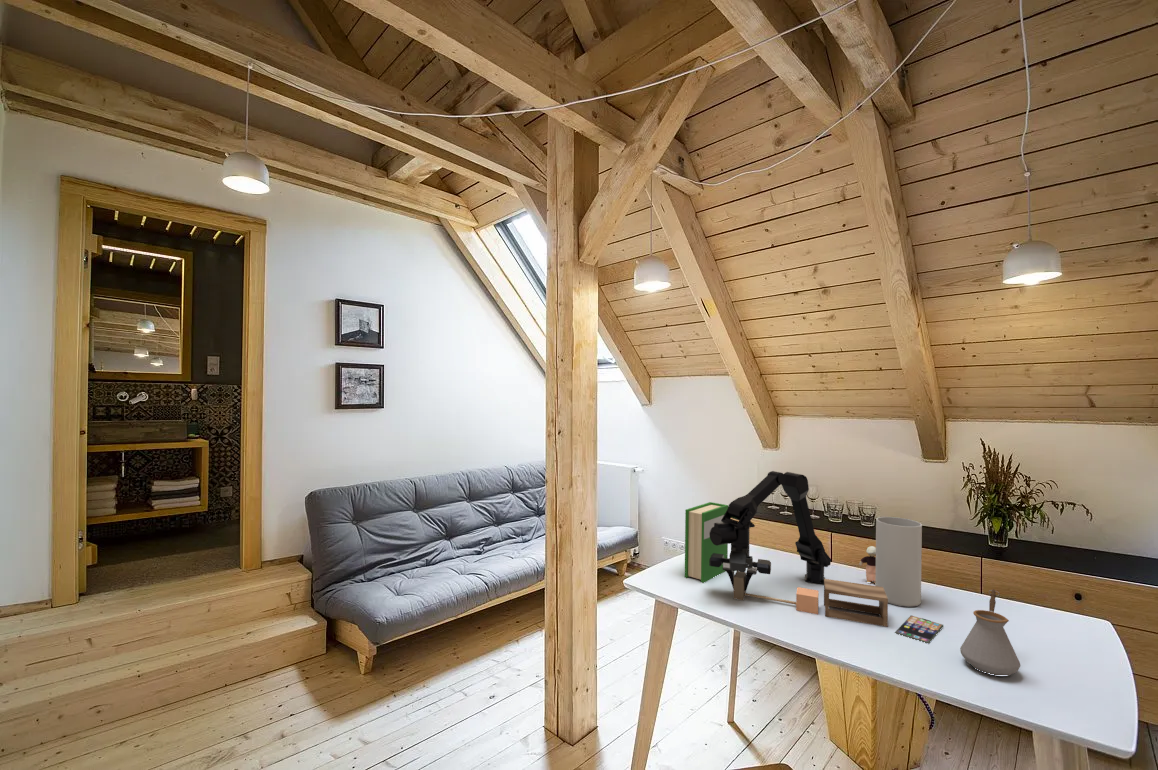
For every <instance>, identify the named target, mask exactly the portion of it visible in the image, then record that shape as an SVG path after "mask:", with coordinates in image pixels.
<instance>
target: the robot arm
mask: <svg viewBox="0 0 1158 770" xmlns="http://www.w3.org/2000/svg"><path fill="white" fill-rule="evenodd" d="M808 480H809V479H808V478H807V476H805V475H804V474H801V473H795V472H790V471H786V472H784V473H783V472H782V471H781V472H780V471H774V470H772V471H769V472H768V473H767V474H766V476H765V477H764V478H763V479H762V480H761V481H760V482H758V484H757V485H755V486H754V488H752V489H751V490H750V491H749V492H748V493H747V494H745V495H743V496H739V497H736V498H735V499H733V500H732V501H731V502H730V503H729V504H728V509H727V511H726V513H725V514H724V516H723V518H722V520H721V522H723V523H714V527H712V528H711V530H710V539H711V541H712V543H713V544H714V545H724V544H728V545H729V544H730V553H729V557H728V558H724V554H716V553H713V554H712V555H711V557H710V559H709V566H713V567H720V566H721V565H722V564H723V568H722V569H723V570H725V572H726V573H727V575H728V577H729V580H730V583H731V587H732V589H733V590H734V575H735V572H736V571H740V572H746V581H745V591H746V592H747V589H748V586H749V584H750V580H751V578H752V577H753V575H754V576H755V575H757V574H758V573H759V574H763V575H771V573H772V572H771V571H772V562H771V560H769V559H761V558H758V559H757V561H754V560H753V556H751V555H750V529H751V528H755V526H756V525H755V524H754V523H753V522H752V519H753V518H754V517H755V515H756V514H757V512H758V507H759V506H760V505H761V504H762V503H763V502H764V501H765V500H766V499H767V498H768V497H769V496H770V495H771V494H773V493H774V492H775V491H776V490H777V489H778V488H779V487H780V486H781V487H782V490H783V492H784V493H785V494H786V495H787V496H788V498H790V501H791V506H792V509H793V513H794V518H795V521H796V526H797V529H798V533H799V537H798V540H797V541H795V543H794V544H795V546H796V553H798V554H799V557H800V560H802V561H805V563H806V569H805V570H806V574H804V580H805V582H808V583H814V584H821V585H824V579H826V577H825V567H826V568H828V567H829V566H830V565H831V563H832V558H831V557H830V556H829V554H828V553H827V552H826V550H825V547H824V545H823V542H822V541H821V540H820V538H819V537H818V536H817V535H816V532H815V529H814V525H813V520H812V517H811V516H812V515H811V513H810V508H809V504H808V500H807V495H808V493H809V490H810V488H809V481H808Z"/></svg>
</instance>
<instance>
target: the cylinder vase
mask: <svg viewBox="0 0 1158 770" xmlns="http://www.w3.org/2000/svg"><path fill="white" fill-rule="evenodd" d="M875 519H876V520H875V548H876V556H875V557H876V579H875V581H874V582H875V584H874V586H879V587H883V588H884V591H885V593H886V595H887V598H888V604H891V605H893V604H894V606H898V607H906V608H907V607H908V608H910V607H911V608H913V607H917V606H920V605H921V602H922V556H923V555H922V552H923V551H922V549H923V548H922V545H923V544H922V543H923V542H922V541H923V540H922V539H923V537H922V533H923V524H922V523H921V522H919V521H917V520H912V519H908V518H903V517H894V516H879V517H877V518H875Z"/></svg>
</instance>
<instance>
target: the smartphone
mask: <svg viewBox="0 0 1158 770" xmlns="http://www.w3.org/2000/svg"><path fill="white" fill-rule="evenodd" d="M942 627H943V628H944V624H942V623H938V622H935V621H933V620H932V621H931V620H929V619H926V618H923V617H918V616H915V615H910V616H909V617H907V618H906V620H905V621H904V622H903V623H902V624H901V625H900V626H899V627H897V629H896V630H895V632H894V634H895V633H896V635H899V634H900V636H902V635H903V636H902V637H905V638H908V637H909V638H908V639H911V638H912V639H911V640H914V639H915V640H914V641H917V640H919V641H918V642H921V641H922V642H921V643H924V642H925V643H924V644H927V643H929V644H930V643H931V642H932V641H933V640H934V639H935V637H936V636H937V635H938V634H939V633H940V631H941V630H942V629H943V628H942ZM941 628H942V629H941ZM940 629H941V630H940ZM938 632H939V633H938ZM937 633H938V634H937ZM936 634H937V635H936ZM932 639H933V640H932ZM931 640H932V641H931ZM930 641H931V642H930Z"/></svg>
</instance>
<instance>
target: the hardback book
mask: <svg viewBox="0 0 1158 770" xmlns="http://www.w3.org/2000/svg"><path fill="white" fill-rule="evenodd" d="M728 506H729V504H722V503H718V502H712V501H711V502H710V501H709V502H706V503H703V504H699V505H696V506H693V507H689V508H687V509H685V513H684V514H685V519H684V523H685V526H684V527H685V528H684V530H685V531H684V578H685V577H686V578H685V579H689V578H690V577H691V578H694V579H697V580H700V583H701V582H702V584H705V583H706V582H708V581H710V580H712V579H714V578H716V577H718V576H719V574H720V575H721V574H723V573H725V572H726V571H725V570H723V569H722V568H723V564H722V565H721V566H720V567H713V566H709V559H710V557H711V555H712V554H713V553H716V554H724V558H729V557H728V554H729V553H728V551H729V550H728V549H729V544H724V545H714V544H713V543H712V541H711V539H710V530H711V528H712V527H714V523H723V522H721V520H722V518H723V516H724V514H725V513H726V511H727V509H728ZM717 575H718V576H717ZM715 576H716V577H715ZM713 577H714V578H713ZM704 582H705V583H704Z"/></svg>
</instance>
